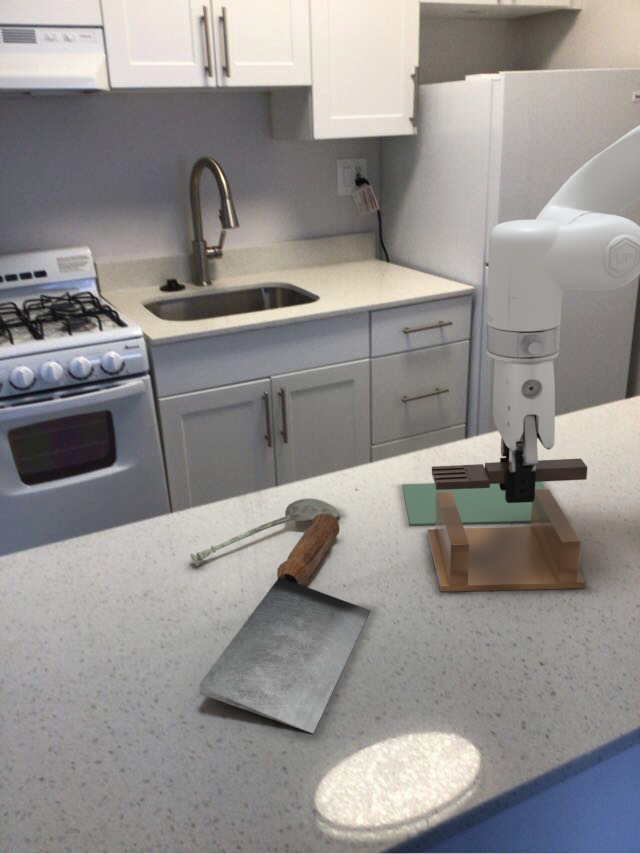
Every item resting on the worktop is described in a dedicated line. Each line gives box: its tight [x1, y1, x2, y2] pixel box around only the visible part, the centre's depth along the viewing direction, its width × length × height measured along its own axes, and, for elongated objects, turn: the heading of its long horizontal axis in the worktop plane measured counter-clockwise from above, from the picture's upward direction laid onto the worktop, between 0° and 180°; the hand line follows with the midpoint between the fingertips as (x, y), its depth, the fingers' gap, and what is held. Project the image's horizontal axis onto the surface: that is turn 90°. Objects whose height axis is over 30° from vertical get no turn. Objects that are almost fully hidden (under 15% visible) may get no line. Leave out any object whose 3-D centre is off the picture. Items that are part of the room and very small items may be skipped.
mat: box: [401, 482, 546, 526], centre depth 104 cm, size 20×12×1 cm, turn 89°
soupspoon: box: [190, 497, 341, 567], centre depth 97 cm, size 22×3×7 cm
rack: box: [426, 488, 587, 593], centre depth 89 cm, size 16×13×6 cm
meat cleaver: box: [198, 514, 371, 734], centre depth 81 cm, size 34×11×4 cm, turn 162°
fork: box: [431, 458, 588, 490], centre depth 86 cm, size 17×4×2 cm, turn 89°
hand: (516, 493), depth 87 cm, fingers closed on fork, 2 cm apart
